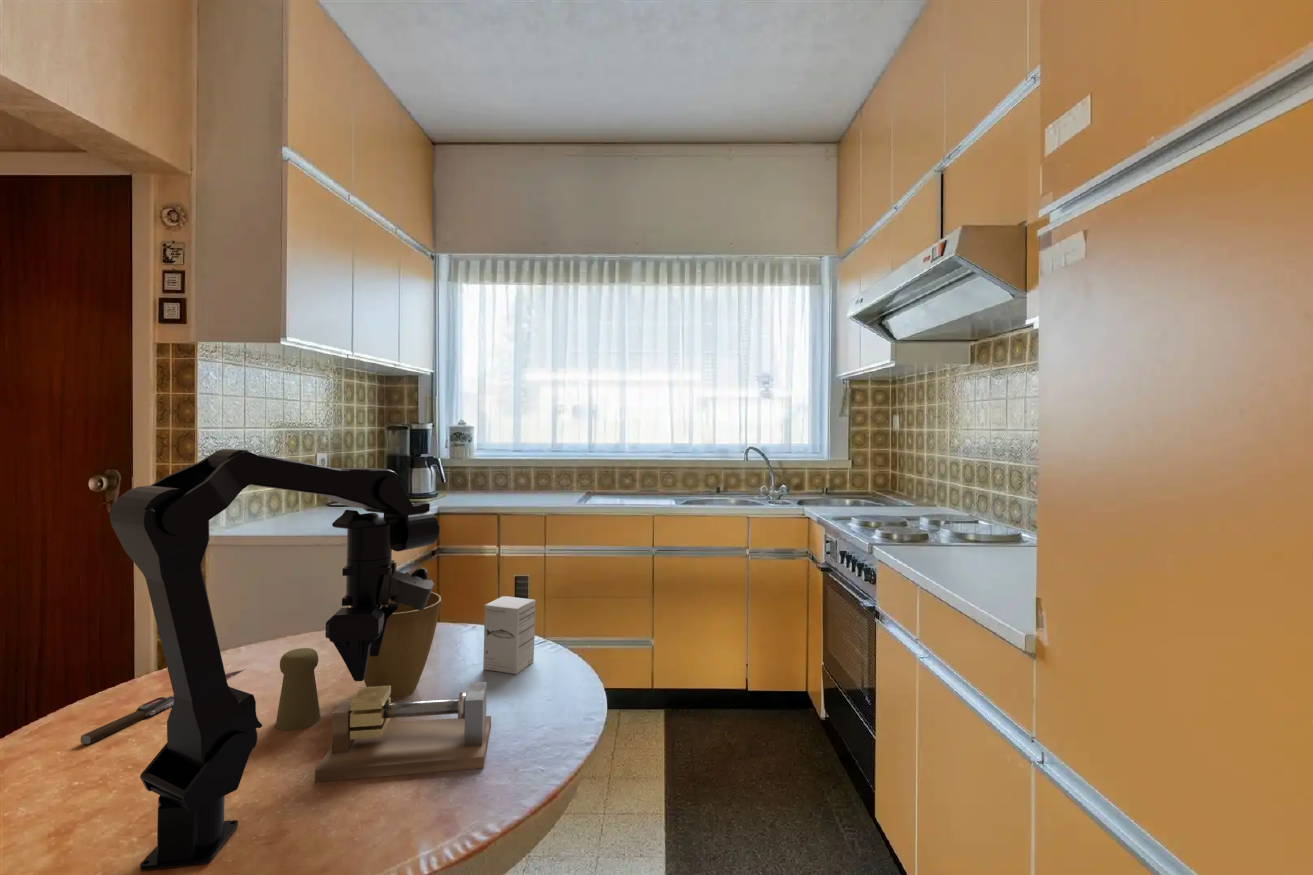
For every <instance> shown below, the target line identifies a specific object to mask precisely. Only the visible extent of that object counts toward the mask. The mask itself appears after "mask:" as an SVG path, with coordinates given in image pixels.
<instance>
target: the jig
mask: <svg viewBox="0 0 1313 875" xmlns="http://www.w3.org/2000/svg"><path fill="white" fill-rule="evenodd" d="M352 700H353V699H343V700H342V699H341V701H340V702H339V703H338V705H337V706H336V708H335V709H334V710H333V712H332V713H331V746H330V747H329V749H328V750H327V752H326V754H325V755H324V757H323V758H322V760H321V761H320V762H319V764H318V765H317V767H316V769H315V770H314V782H315V783H318V782H320V783H321V782H329V781H330V782H331V781H342V780H353V779H354V780H356V779H367V778H368V779H369V778H380V777H389V776H390V777H391V776H401V775H402V776H404V775H414V774H415V775H416V774H429V773H438V772H439V773H440V772H450V771H452V772H453V771H461V770H462V771H463V770H475V769H484V768H485V762H486V756H487V750H488V746H489V745H488V744H489V739H490V732H491V728H492V716H491V715H486V728H485V734H484V739H483V744H482V746H473V747H464V736H465V719H461V720H458V717H455V718H454V717H453V718H441V719H425V720H410V721H396V722H389V723H388V725H387V727H386V729H385V731H384V733H383V735H382V737H377V738H363V739H350V730H351V729H352V727H350V714H351V711H350V702H351V701H352Z"/></svg>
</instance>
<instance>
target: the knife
mask: <svg viewBox="0 0 1313 875" xmlns="http://www.w3.org/2000/svg"><path fill="white" fill-rule="evenodd" d="M246 670H247V668H245V669H241V670H238V671H233V672H229V673H225V675H226V679H227V681H228V680H229V679H231V678H233V677H235V676H237V675H239V674H240V673H242V672H245V671H246ZM173 702H174V694H173V695H169V696H168V697H165V696H160V697H157V698H155V699H152V700H150V701H147V702H146V703H143V704H141V705H139V707H138V708H137V709H136V710H135V711H133V712H130V713H129V714H127V715H124V716H123V717H120V718H118V719H115V720H113V721H111V722H108V723H107V724H105V725H104V724H103V725H102V726H99V727H97V728H95V729H93V730H91V731H89V732H86V733H84V734H82V735H80V740H79V741H80V743H81V744H84V745H91V744H93V743H95V742H97V741H99V740H101V739H103V738H105V737H107V736H109V735H112V734H115V733H116V732H119V731H120V730H123V729H125V728H127V727H130V726H131V725H134V724H135V723H138V722H139V721H142V720H144V719H145V718H147V717H152V716H153V715H155V714H157V713H159V712H163V711H164V710H166V709H168V708H171V707H172V705H173Z"/></svg>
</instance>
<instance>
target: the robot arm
mask: <svg viewBox="0 0 1313 875" xmlns="http://www.w3.org/2000/svg"><path fill="white" fill-rule="evenodd" d="M248 486H252V487H261V488H267V489H268V488H269V489H277V490H283V491H290V492H298V493H306V494H312V495H318V496H322V497H325V498H326V499H329V500H331V501H332V502H335V503H338V504H342V505H343V506H347V507H350V508H356V509H362V510H364V511H365V513H360V512H359V511H358V510H353V509H345V510H344V512H343V513H342V514H341V515H340V516H339V517H337V518H336V519H335V520H334V521H333V522H332V523H331V526H332V527H333V528H335V529H336V528H337V529H344V530H345V529H346V530H347V531H346V532H347V533H346V534H347V535H346V540H347V541H346V565H345V566H343V568H342V575H341V576H342V577H346V581H345V582H346V583H345V584H346V586H345V587H346V588H345V591H346V592H345V595H344V596H343V597H342V598H341V606H342V607H340V608H339V609H338V610H336V612H335V613H334V614H332V615H331V617H330V618H329V619H328V620H327V621H326V622H325V633H324V634H325V638H326V639H328V640H329V642H330V643H332V644H333V645H334V647H335V648H336V650H337V652H338V653H339V656H340V657H341V659H342V660H343V662H344V664H345V666H346V668H347V669H348V672H349V673H350V676H351V677H352V679H353V681H354V682H363V681H364V677H365V672H366V667H367V662H368V657H369V654H370V656H372V657H373V656H378V655H379V653H380V649H381V645H382V641H383V637H384V633H385V629H386V625H387V621H388V618H389V616H390V615H392V614H393V613H394V612H395V611H396V610H397V609H398V607H399V606H400V604H405V605H408V606H411V607H412V608H413V609H416V610H423V609H424V607H425V605H426V603H427V601H428V598H429V596H430V593H431V592H433V591H432V590H433V588H434V585H435V582H433V579H430V577H429V569H427V568H423V567H417V568H416V569H415V570H414V571H412V572H411V573H409V571H408V572H405V573H404V572H402V571H398V570H397V562H395V559H393V560H392V558H393V557H392V555H393V553H392V551H394V552H403V551H409V550H413V549H417V548H419V549H420V548H422V547H423V548H424V547H427V546H429V547H430V546H432V545H433V544H434V543H435V542H437V540H438V537H439V535H440V524H439V523H438V519H437V517H436V515H435V514H434V513H433V512H432V511H431V506H430V505H431V504H430V503H429V502H421V501H419V502H414V503H412V501H411V500H410V498H409V496H408V495H407V494H406V492H405V490H404V488H403V487H402V485H401V481H400V479H399V477H398V473H397V472H396V471H394V470H392V469H389V468H373V467H372V468H371V467H331V466H330V467H329V466H324V465H320V464H314V463H308V462H303V461H297V460H293V459H286V458H282V457H281V458H279V457H275V456H269V455H264V454H259V453H256V452H253V451H252V450H249V449H235V448H234V449H231V448H230V449H229V448H222V449H218V450H216V451H215V452H214V453H211V454H210V455H208V456H206V457H204V458H203V459H201V460H199V461H197V462H196V463H193V464H191V465H189V466H187V467H185V468H182V469H180V470H178V471H175V472H173V473H171V474H168V475H166V476H164V477H162V478H160V479H159V480H157V481H155V482H154V483H151V484H150V485H141V486H137V487H134V488H131V489H128V490H127V491H126V492H124V493H123V494H122V495H120V496H119V497H118V499H117V500H116V501H115V502H114V504H112V505H111V507H110V509H109V510H110V511H109V521H110V526H111V527H112V529H113V531H114V533H115V535H116V537H117V538H118V540H119V543H120V544H121V547H122V549H123V551H124V552H125V554H127V556H128V557H129V558H130V559H131V561H133V563H134V564H135V565H136V567H137V568H138V569H139V571H140V572H141V573H142V574H143V577H144V578H145V582H146V585H147V590H148V594H149V598H150V603H151V606H152V610H153V616H154V618H155V623H156V626H157V632H158V635H159V639H160V643H161V648H162V652H163V656H164V660H165V663H166V667H167V673H168V676H169V681H170V684H171V688H172V692H173V695H174V702H173V705H172V706H171V707H170V708H171V709H170V712H169V715H168V718H167V721H166V735H167V736H166V741H167V742H166V743H165V744H164V745H163V747H162V748H161V749H160V750H159V752H158V753H157V754H156V756H154V758H153V759H152V760H151V761H150V762H149V764H148V765H147V766H146V768H145V769H144V770H143V771H142V772H141V774H140V775H139V778H140V780H141V783H142V784H143V786H144V788H145V789H146V791H148V792H152V793H155V794H157V795H159V797H158V802H157V826H156V827H157V830H156V831H157V833H156V834H157V835H156V838H157V842H156V846H155V847H154V848H153V849H152V851H150V853H149V854H148V855H146V857H145V858H144V859H143V860H142V861H141V862H140V863H139V870H141V871H146V870H155V869H156V870H157V869H165V868H173V867H174V868H176V867H184V866H194V865H204V864H207V863H209V862H211V861H212V860H213V859H214V858H215V856H216V855H217V853H218V852H219V850H221V848H222V847H223V845H225V843H226V842H227V840H228V839H229V838H230V837H231V836H232V834H233V833H234V832H235V830H236V829H237V828H238V826H239V820H238V819H233V820H231V819H230V820H225V803H226V802H225V799H226V798H225V796H227V795H230V793H233V792H235V791H237V790H238V789H239V787H240V783H241V780H242V778H243V775H244V772H245V769H246V766H247V762H248V760H249V758H250V755H251V753H252V751H253V750H254V749H255V748H257V743H258V731H257V729H261V728H262V727H263V724H262V723H261V722H260V720H259V718H258V716H257V702H256V698H255V695H254V694H252V693H249V692H247V691H244V690H240V689H237V688H235V687H232V686H229V684H228V680H227V679H226V675H225V674H226V672H225V666H224V662H223V658H222V654H221V648H220V645H219V640H218V639H219V638H218V634H217V632H216V628H215V627H216V625H215V623H214V622H215V621H214V618H213V614H212V610H211V609H212V608H211V604H210V600H209V596H208V592H207V586H206V583H205V582H206V581H205V579H204V574H203V567H202V566H203V560H204V557H205V554H206V552H207V549H208V546H209V542H210V520H212V519H213V518H215V517H216V516H217V515H219V514H220V513H221V512H223V511H224V510H226V509H227V508H228V507H229V506H230V505H231V504H232V503H233V501H234V500H235V499H236V498H237V497H238V496H239V494H240V493H241V492H242V491H243V490H245V488H247V487H248ZM381 514H383V516H382V515H381ZM391 600H392V601H395V602H391ZM348 606H352V607H350V608H348Z"/></svg>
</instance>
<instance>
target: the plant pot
mask: <svg viewBox="0 0 1313 875" xmlns="http://www.w3.org/2000/svg"><path fill="white" fill-rule="evenodd" d="M391 602H395V601H392V600H391ZM441 602H442V597H441V595H440V594H438V593H436V592H433V591H431V593H430V596H429V598H428V601H427V603H426V605H425V607H424V609H423V610H416V609H413V608H412V607H411V606H408V605H405V604H400V606H399V607H398V609H397V610H396V611H395V612H394V613H393V614H392V615H390V616H389V618H388V621H387V625H386V629H385V633H384V637H383V641H382V645H381V649H380V653H379V655H378V656H373V657H372V656H370V654H369V657H368V662H367V667H366V672H365V677H364V680H363V681H364V684H365V687H375V686H391V694H390V695H389V697H391V701H393V700H398V699H402V698H405V697H408V696H410V695H411V694H412V693H414V692H415V690H416V688H417V687H418V684H419V682H420V680H421V676H422V674H423V672H424V670H425V666H426V663H427V659H428V657H429V655H430V654H429V653H430V650H431V648H432V645H433V641H434V637H435V633H436V628H437V625H438V618H439V612H440V607H441ZM350 607H352V606H347V608H350Z"/></svg>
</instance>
